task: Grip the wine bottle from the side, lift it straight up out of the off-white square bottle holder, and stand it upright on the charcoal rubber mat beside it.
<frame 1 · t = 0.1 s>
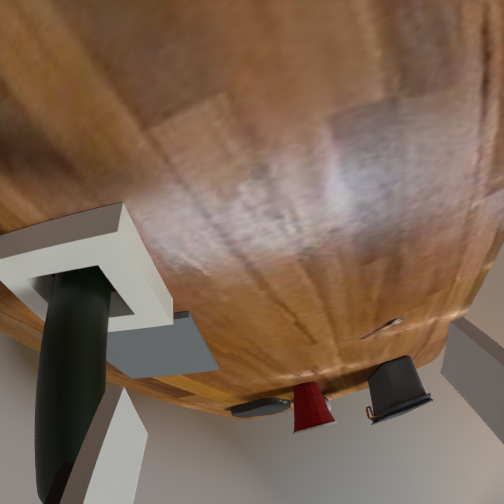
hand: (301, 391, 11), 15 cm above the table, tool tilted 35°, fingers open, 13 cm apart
bottle holder: (84, 271, 27), on the table
wine bottle: (85, 269, 27), resting in bottle holder
media streaming box: (260, 403, 84), on the table
coaster mat: (152, 350, 43), on the table
storage bin: (383, 368, 77), on the table
die: (313, 395, 86), on the table
plastic cup: (305, 384, 73), on the table
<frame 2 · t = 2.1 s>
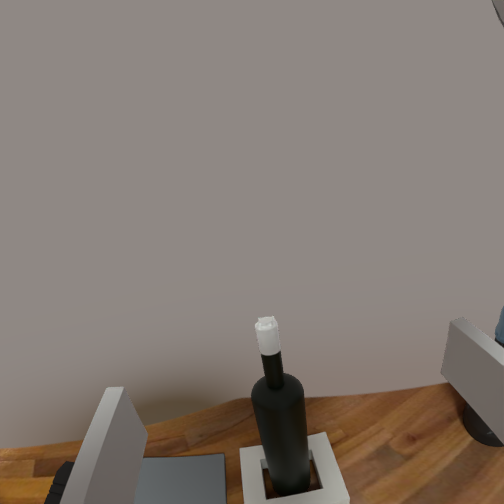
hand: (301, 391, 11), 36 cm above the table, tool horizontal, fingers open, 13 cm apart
bottle holder: (291, 483, 38), on the table
wine bottle: (291, 483, 38), resting in bottle holder
coaster mat: (164, 495, 37), on the table
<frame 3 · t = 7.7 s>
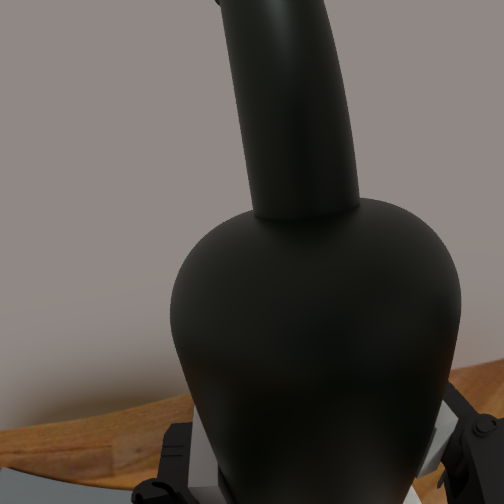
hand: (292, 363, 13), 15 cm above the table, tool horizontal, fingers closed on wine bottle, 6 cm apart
when the fingers open (17 cm above the table, at t = 12.5 s): wine bottle drops 1 cm, resting on coaster mat.
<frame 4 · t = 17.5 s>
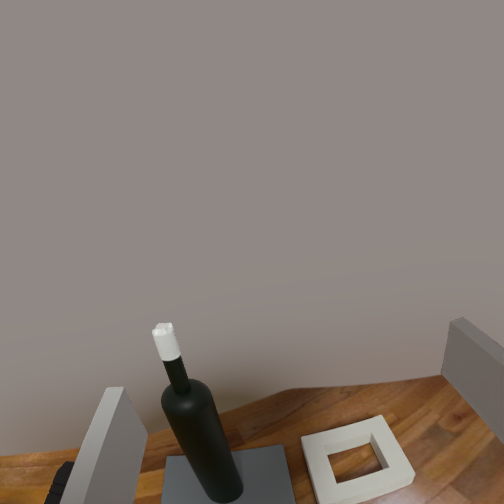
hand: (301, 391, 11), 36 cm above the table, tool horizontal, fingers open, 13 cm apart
bottle holder: (354, 466, 38), on the table
wine bottle: (225, 489, 37), point 1 cm above the table, touching coaster mat
coaster mat: (225, 491, 37), on the table
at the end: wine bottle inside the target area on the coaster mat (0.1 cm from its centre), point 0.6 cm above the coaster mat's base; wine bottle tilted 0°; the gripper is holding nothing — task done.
